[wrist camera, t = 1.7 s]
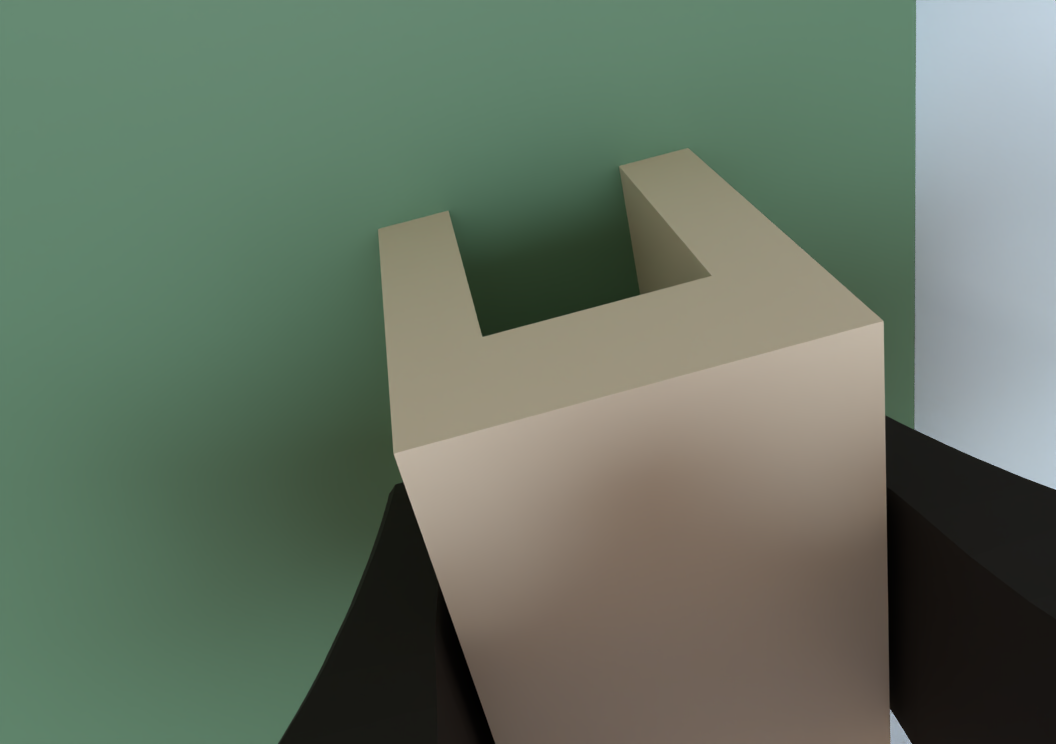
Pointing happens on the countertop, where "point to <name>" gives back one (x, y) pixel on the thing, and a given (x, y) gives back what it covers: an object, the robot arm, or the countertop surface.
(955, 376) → the countertop surface
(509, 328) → the header board
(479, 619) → the beige u-shaped channel block
